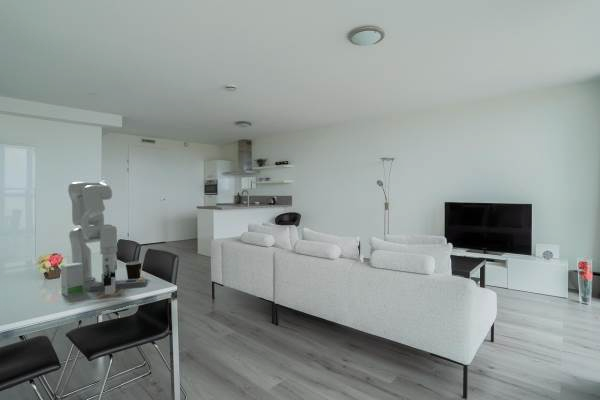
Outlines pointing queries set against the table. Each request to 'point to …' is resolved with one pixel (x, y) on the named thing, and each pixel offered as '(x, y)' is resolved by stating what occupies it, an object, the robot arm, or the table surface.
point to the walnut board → (102, 294)
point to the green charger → (103, 279)
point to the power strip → (120, 284)
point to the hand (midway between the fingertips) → (109, 282)
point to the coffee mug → (133, 270)
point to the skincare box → (72, 279)
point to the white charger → (110, 287)
